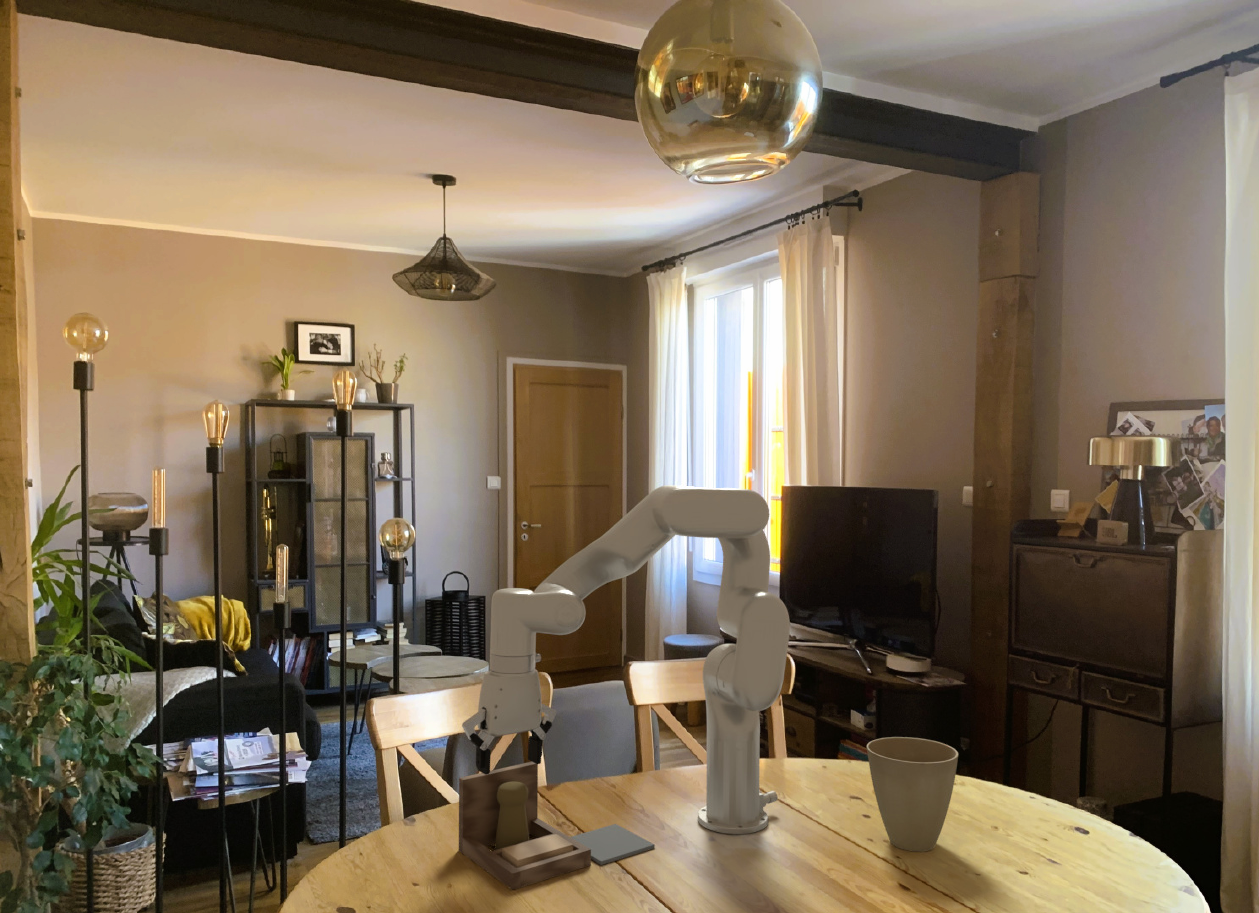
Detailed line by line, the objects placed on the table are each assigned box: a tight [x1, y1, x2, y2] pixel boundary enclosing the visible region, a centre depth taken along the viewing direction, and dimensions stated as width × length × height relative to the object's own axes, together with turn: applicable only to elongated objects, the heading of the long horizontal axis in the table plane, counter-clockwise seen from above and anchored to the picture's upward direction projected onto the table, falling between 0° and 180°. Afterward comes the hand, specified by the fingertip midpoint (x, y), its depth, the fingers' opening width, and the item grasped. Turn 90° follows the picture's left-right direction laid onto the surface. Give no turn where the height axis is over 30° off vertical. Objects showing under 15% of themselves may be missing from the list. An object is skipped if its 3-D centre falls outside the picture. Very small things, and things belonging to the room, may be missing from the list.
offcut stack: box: [502, 834, 573, 868], centre depth 145 cm, size 10×5×4 cm, turn 126°
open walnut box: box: [458, 761, 592, 891], centre depth 148 cm, size 14×18×12 cm
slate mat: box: [570, 823, 656, 866], centre depth 153 cm, size 11×11×1 cm
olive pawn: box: [493, 782, 530, 851], centre depth 151 cm, size 6×6×11 cm
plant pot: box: [866, 736, 959, 853], centre depth 155 cm, size 15×15×16 cm
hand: (509, 767), depth 151 cm, fingers open, 9 cm apart
